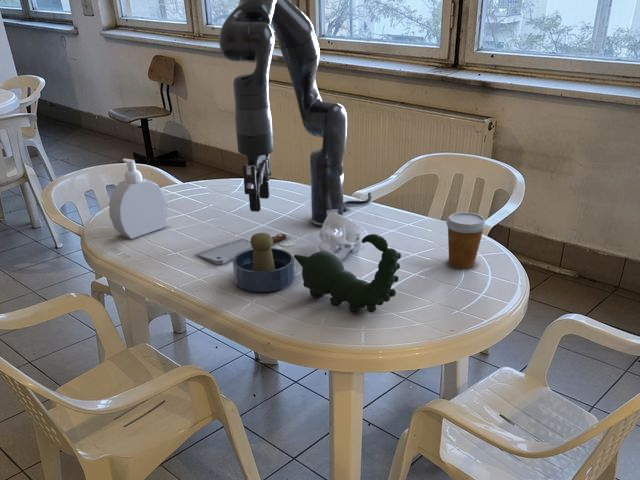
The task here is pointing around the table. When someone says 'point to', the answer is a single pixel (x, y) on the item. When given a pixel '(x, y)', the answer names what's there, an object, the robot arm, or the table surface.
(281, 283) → the bowl
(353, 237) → the skull bowl
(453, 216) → the disposable coffee cup
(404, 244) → the table surface
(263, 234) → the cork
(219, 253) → the kitchen cleaver
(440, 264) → the table surface
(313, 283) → the toy figurine
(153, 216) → the soap bottle
